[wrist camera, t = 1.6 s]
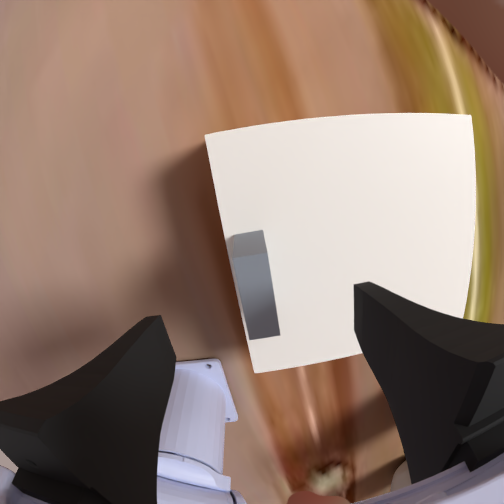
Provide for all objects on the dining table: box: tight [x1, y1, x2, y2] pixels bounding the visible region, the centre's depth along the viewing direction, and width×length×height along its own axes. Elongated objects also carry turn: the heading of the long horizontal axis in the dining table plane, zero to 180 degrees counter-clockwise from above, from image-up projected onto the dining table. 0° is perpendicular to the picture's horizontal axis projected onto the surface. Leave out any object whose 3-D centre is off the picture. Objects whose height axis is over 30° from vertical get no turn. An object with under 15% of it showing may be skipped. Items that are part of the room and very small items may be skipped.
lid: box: [205, 113, 476, 373], centre depth 14 cm, size 15×14×4 cm
